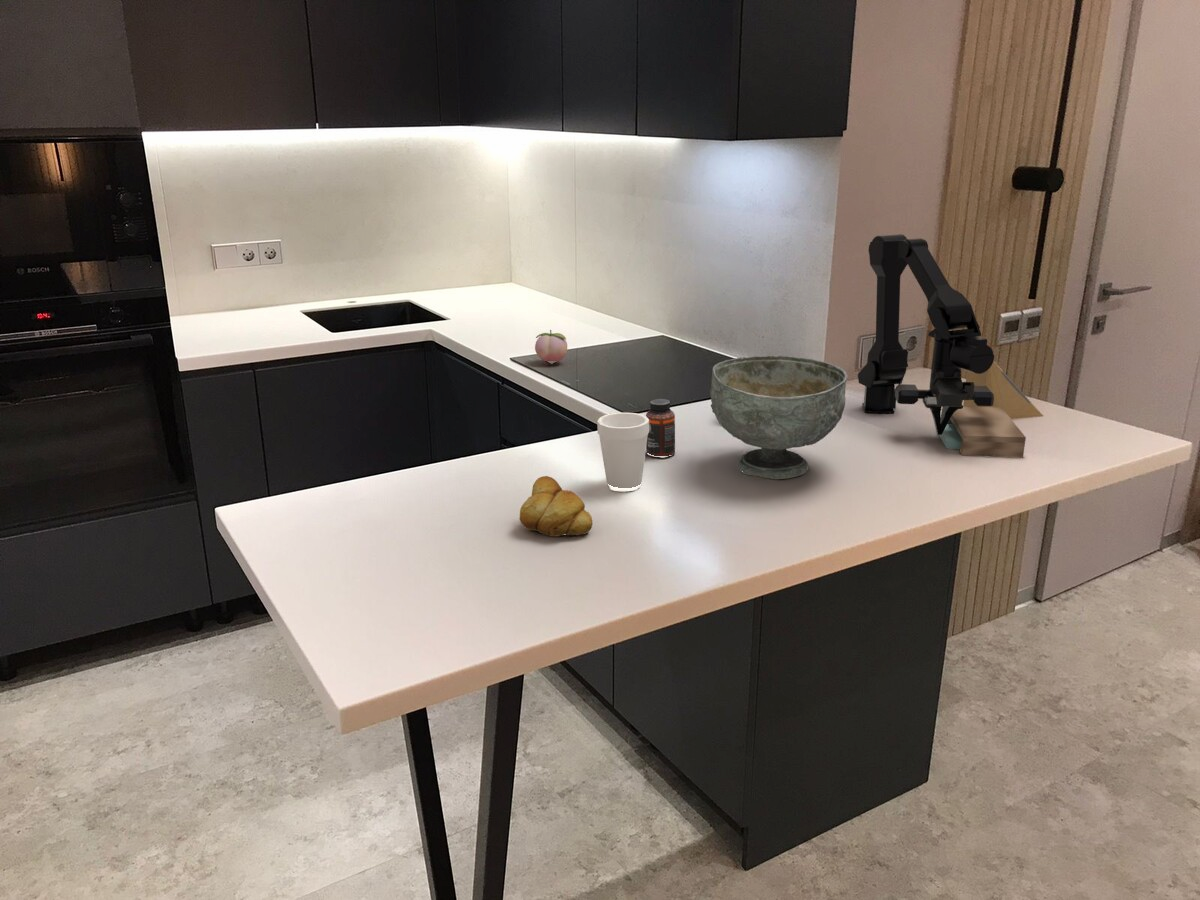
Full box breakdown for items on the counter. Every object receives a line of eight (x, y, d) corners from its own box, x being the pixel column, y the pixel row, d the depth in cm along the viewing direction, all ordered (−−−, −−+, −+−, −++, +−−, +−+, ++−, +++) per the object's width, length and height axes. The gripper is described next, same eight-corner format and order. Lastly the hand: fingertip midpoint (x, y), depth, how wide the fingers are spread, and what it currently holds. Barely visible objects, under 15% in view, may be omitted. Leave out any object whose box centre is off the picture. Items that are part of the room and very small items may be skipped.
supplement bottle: (679, 451, 193) (679, 399, 189) (669, 460, 188) (669, 407, 184) (652, 448, 195) (652, 396, 191) (641, 457, 190) (641, 404, 186)
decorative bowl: (762, 434, 200) (765, 344, 192) (869, 464, 183) (876, 367, 175) (681, 472, 183) (681, 374, 175) (790, 509, 166) (795, 403, 158)
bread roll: (604, 529, 157) (603, 485, 155) (567, 550, 150) (565, 504, 148) (546, 512, 165) (544, 469, 162) (509, 531, 158) (506, 487, 155)
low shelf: (962, 455, 186) (964, 435, 185) (944, 424, 205) (946, 406, 203) (1023, 457, 184) (1025, 437, 183) (999, 425, 203) (1001, 407, 202)
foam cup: (613, 499, 170) (612, 431, 165) (590, 482, 177) (588, 417, 173) (658, 488, 174) (658, 422, 169) (634, 473, 181) (633, 409, 177)
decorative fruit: (572, 361, 266) (570, 326, 263) (564, 368, 259) (563, 333, 255) (540, 360, 268) (539, 326, 265) (532, 367, 261) (530, 332, 257)
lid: (946, 451, 191) (947, 441, 190) (936, 432, 202) (937, 423, 201) (1008, 453, 189) (1009, 443, 188) (994, 434, 200) (996, 425, 199)
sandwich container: (1045, 417, 208) (1055, 351, 203) (981, 421, 206) (989, 355, 201) (1023, 406, 217) (1032, 342, 211) (962, 410, 215) (969, 346, 209)
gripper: (905, 371, 184) (898, 445, 190) (1004, 373, 181) (994, 448, 187) (897, 357, 195) (891, 428, 200) (991, 359, 192) (982, 430, 197)
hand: (939, 434), depth 196 cm, fingers closed
